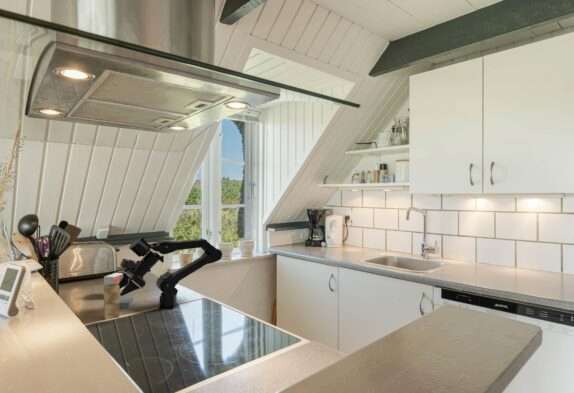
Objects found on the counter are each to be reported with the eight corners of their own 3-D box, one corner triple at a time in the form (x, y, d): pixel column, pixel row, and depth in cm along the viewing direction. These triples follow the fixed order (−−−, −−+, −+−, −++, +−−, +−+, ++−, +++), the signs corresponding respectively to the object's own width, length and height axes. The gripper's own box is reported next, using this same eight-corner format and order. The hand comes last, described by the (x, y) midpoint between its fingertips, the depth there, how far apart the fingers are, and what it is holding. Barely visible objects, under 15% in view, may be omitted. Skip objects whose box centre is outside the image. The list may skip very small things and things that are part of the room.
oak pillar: (116, 313, 147) (117, 283, 147) (119, 317, 143) (119, 286, 143) (103, 315, 144) (104, 285, 144) (105, 319, 140) (106, 288, 140)
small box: (113, 299, 165) (113, 277, 165) (103, 298, 166) (103, 276, 166) (124, 294, 173) (124, 273, 173) (114, 293, 174) (114, 272, 174)
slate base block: (133, 303, 162) (133, 296, 162) (128, 309, 154) (129, 302, 154) (115, 303, 160) (115, 297, 160) (109, 309, 152) (109, 303, 152)
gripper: (128, 248, 155) (100, 275, 149) (137, 255, 140) (107, 286, 134) (146, 263, 160) (119, 291, 154) (157, 272, 145) (128, 303, 139)
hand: (118, 292), depth 145 cm, fingers open, 9 cm apart
